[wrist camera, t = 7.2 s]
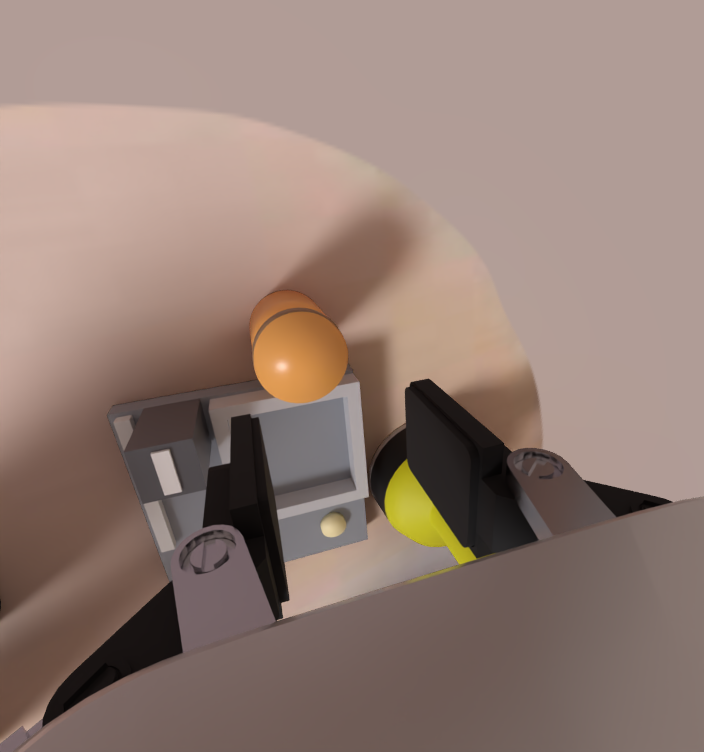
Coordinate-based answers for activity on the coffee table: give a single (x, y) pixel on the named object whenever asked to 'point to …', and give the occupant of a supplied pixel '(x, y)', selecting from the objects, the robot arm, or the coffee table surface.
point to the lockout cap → (296, 348)
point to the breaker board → (274, 464)
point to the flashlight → (409, 498)
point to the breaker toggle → (169, 451)
